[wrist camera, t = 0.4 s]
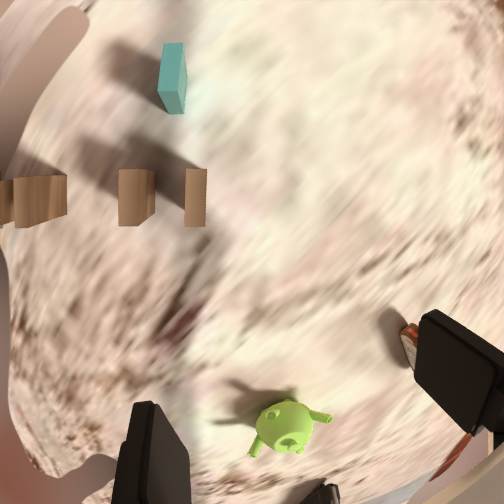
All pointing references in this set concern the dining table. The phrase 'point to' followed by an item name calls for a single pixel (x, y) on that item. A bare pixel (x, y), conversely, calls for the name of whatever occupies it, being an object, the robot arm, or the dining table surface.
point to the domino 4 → (173, 78)
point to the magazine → (324, 495)
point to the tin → (410, 342)
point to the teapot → (286, 427)
